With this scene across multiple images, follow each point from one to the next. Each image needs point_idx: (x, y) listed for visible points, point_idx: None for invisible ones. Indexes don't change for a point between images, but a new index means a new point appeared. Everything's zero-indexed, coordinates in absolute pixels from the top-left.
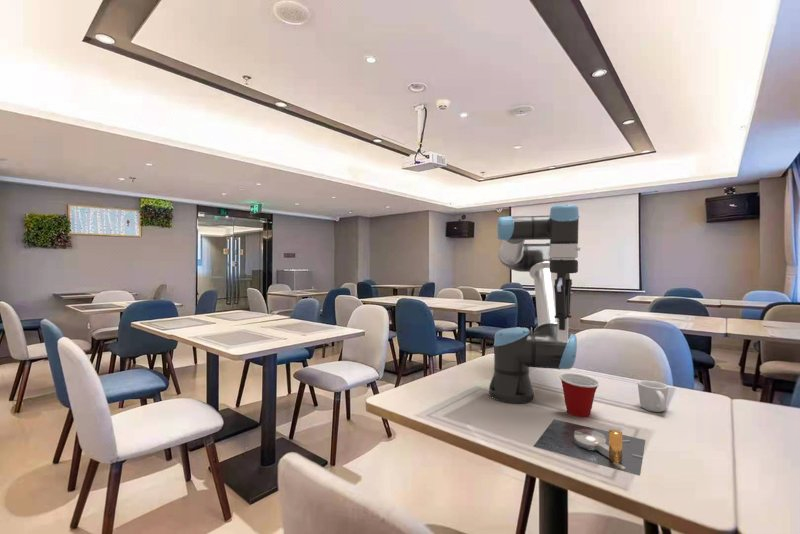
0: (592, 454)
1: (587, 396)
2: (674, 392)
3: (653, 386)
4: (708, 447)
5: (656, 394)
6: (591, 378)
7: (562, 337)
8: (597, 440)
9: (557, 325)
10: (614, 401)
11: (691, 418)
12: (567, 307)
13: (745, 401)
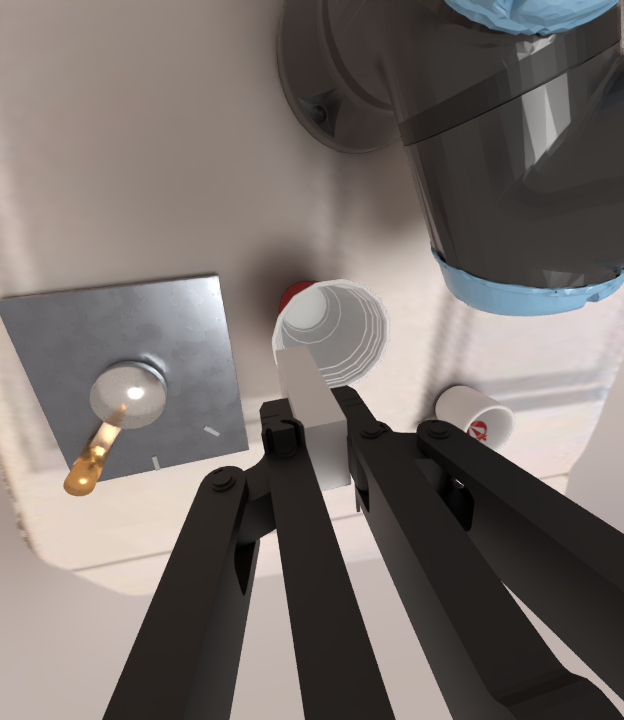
0: (87, 409)
1: None
2: (572, 405)
3: (500, 422)
4: None
5: None
6: (377, 358)
7: (282, 386)
8: (113, 419)
9: (288, 395)
10: (463, 334)
11: None
12: (387, 560)
13: (561, 488)
